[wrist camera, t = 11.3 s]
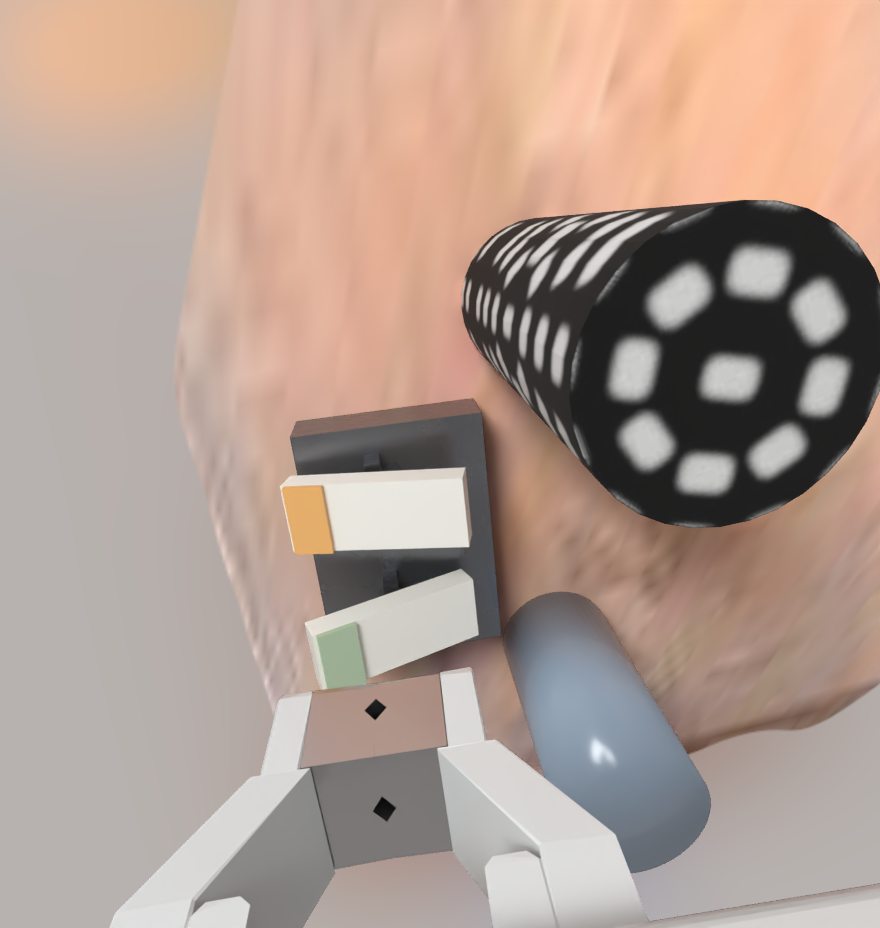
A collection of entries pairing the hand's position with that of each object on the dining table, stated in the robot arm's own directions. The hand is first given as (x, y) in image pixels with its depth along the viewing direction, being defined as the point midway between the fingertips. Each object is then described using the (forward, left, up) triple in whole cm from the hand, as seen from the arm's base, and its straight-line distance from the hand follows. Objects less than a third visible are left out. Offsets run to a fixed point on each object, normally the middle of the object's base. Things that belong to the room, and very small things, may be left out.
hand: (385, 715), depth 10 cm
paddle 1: (+1, +6, -21) cm, 22 cm away
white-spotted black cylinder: (-9, -3, -27) cm, 29 cm away
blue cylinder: (-9, +19, -27) cm, 34 cm away
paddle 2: (+1, +13, -21) cm, 25 cm away
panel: (0, +9, -27) cm, 28 cm away
